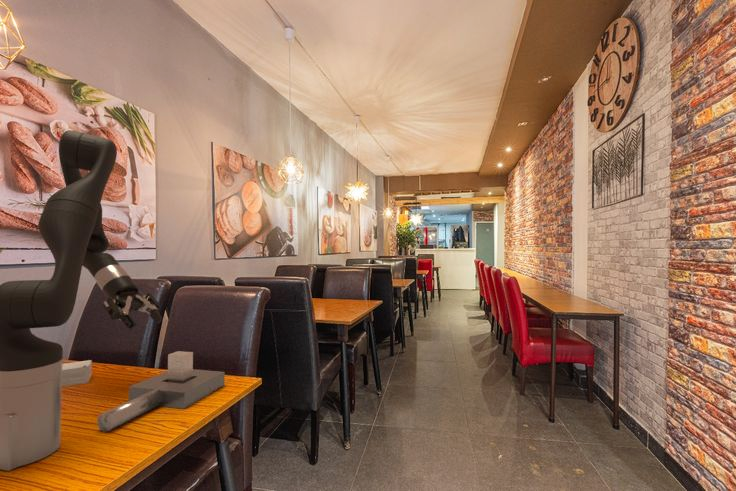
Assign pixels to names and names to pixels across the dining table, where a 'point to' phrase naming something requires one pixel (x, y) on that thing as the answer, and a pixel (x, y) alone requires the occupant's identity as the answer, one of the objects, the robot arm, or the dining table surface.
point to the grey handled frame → (161, 396)
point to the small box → (76, 373)
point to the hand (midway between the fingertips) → (147, 324)
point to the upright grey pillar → (180, 367)
